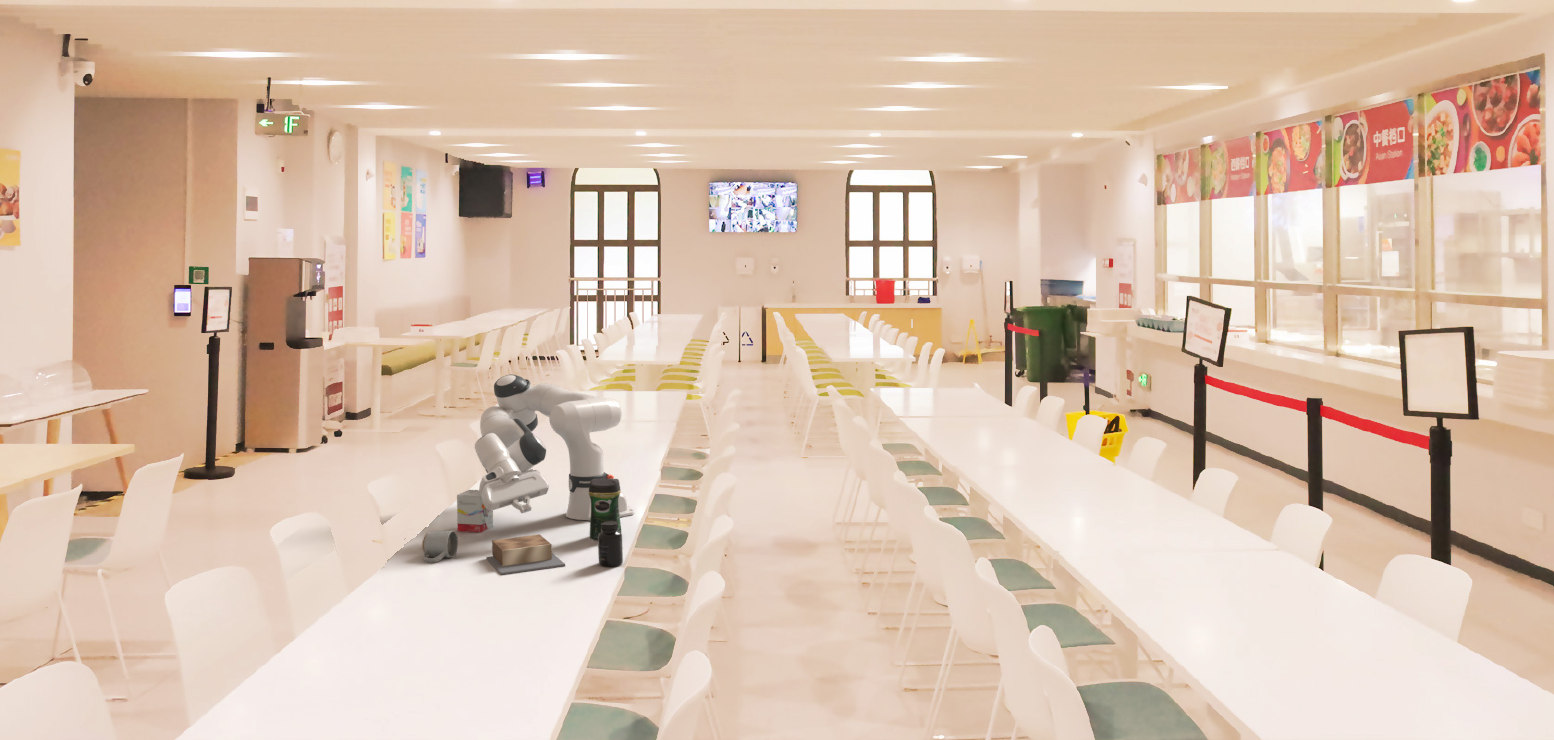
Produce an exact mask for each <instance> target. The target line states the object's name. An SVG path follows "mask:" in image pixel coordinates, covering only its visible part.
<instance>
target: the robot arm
mask: <svg viewBox="0 0 1554 740" xmlns="http://www.w3.org/2000/svg"><path fill="white" fill-rule="evenodd" d="M493 392H494V396H495V397H496V401H497V404H498V406H496V405H495V406H489V407H488V408H486V409H485V410H484V411H483V412H482V414H481V416H480V421H479V422H480V423H479V428H480V433H481V437H480V438H479V439H477V440H476V442H475V443H474V450H475V453H476V456H477V457H478V459H479V462H480V463H481V466H482V467H483V469H485V470H484V471H486V474H484V476H483V475H482V478H481V480H480V483H479V488H478V490H479V491H480V493H481V494H482V495H481V498H482V501H483V504H484V506H485V507H486V509H487V510H489V511H492V510H493V511H494V510H498V509H501V508H504V507H505V508H506V507H508V506H511V505H512V507H513V508H515V509H516V510H518V511H519V512H520V513H521V514H524V513H528V512H531V511H532V506H531V505H530V501H531V499H534V498H537V497H541V496H545V495H547V493H548V491H549V489H550V485H549V483H548V481H547V479H545V477H544V476H543V475H542V473H541V471H539V470H538V469H534V468H533V467H535V466H536V465H538V464H540V463H541V462H543V461H544V460H545V458H546V456H547V448H546V446H545V444H544V442H543V441H542V440H541V439H540V438H539V437H538V436H536V434H534V432H533V431H534V430H535V429H536V428H537V426H538V424H539V420H538V414H537V412H539V413H541V414H542V415H544V416H546V417H548V418H549V423H550V424H549V425H550V426H551V429H552V431H554V432H555V433H556V434H557V435H559V436H560V437H561V438H562V440H563V441H564V442H565V445H566V447H567V450H568V455H569V456H568V457H569V474H568V490H569V497H568V504H567V509H566V513H565V517H566V518H569V519H572V520H579V521H589V522H590V520H591V499H590V496H589V485H590V481H591V480H593V479H615V476H614V475H613V474H608V473H606V472H604V471H605V469H604V461H605V460H604V450H603V449H602V448H601V446H599V445H598V444H596V443H595V442H592V440H591V436H590V433H596V432H603V431H606V430H607V431H608V430H609V429H612V428H615V427H617V426H619V423H620V422H621V419H622V409H621V406H620V404H619V402H617V401H616V400H615V399H613V398H607V397H599V396H596V395H595V396H594V395H589V394H586V393H579V392H574V391H572V390H569V389H566V388H564V387H561V386H559V385H556V384H553V383H552V384H551V383H546V382H545V383H543V382H542V383H538V384H536V385H534V386H533V385H531V381H530V380H529V379H528V378H527V379H526V378H523V377H522V376H520V375H516V374H513V373H512V374H505V375H504V376H502V377H499V378H498V379H497V380H496V381H495V382H494V384H493ZM521 502H523V503H524V504H523V505H522V504H521ZM618 504H619V515H620V518H622V517H629V516H632V515H634V514H635V511H634V510H635V509H634V508H633V507H631V506H630V505H628V501H627V498H626V495H625V494H624V492H622V491H620V495H619V499H618Z"/></svg>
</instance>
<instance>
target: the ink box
mask: <svg viewBox="0 0 1554 740" xmlns="http://www.w3.org/2000/svg"><path fill="white" fill-rule="evenodd" d="M481 495H482V494H481V493H480V491H479V489H468V490H466V491H463V492H460V493H459V494H456V511H457V512H456V513H457V519H456V521H457V523H456V524H457V525H456V526H457V532H461V533H462V532H465V533H466V532H467V533H481V534H482V533H483V532H486V531H487V530H489V529H491V528H492V527H494V510H492V511H489V510H487V509H486V507H485V506H484V504H483V501H482V498H481Z"/></svg>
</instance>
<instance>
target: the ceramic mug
mask: <svg viewBox="0 0 1554 740" xmlns="http://www.w3.org/2000/svg"><path fill="white" fill-rule="evenodd" d="M458 538H459V537H458V535H457V533H456V531H455V530H440V531H439V530H438V531H436V530H435V531H429V532H426V534H425V535H424V537H423V539H422V543H421V544H422V551H423V554H422V555H423V556H422V557H423V560H424V562H426V563H429V564H430V563H431V564H434V563H437V562H439V561H441V560H442V559H443V558H450V559H451V558H454V557H455V556H456V554H457V552H458V550H459V549H458V547H459V539H458ZM429 557H430V558H429Z"/></svg>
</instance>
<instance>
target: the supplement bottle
mask: <svg viewBox="0 0 1554 740" xmlns="http://www.w3.org/2000/svg"><path fill="white" fill-rule="evenodd" d="M618 529H619V527H618V522H616V521H606V522H602V523H601V530H602V532H600V533H599V535H598V540H597V549H598V551H597V553H598V555H597V556H598V564H599V566H600V567H604V568H616V567H618V566H621V565H622V564H623V561H624V557H623V555H624V553H623V549H624V547H623V534H622V531H621V532H620V531H618Z"/></svg>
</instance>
